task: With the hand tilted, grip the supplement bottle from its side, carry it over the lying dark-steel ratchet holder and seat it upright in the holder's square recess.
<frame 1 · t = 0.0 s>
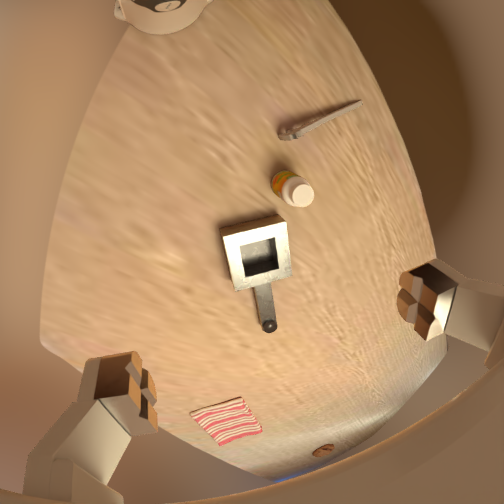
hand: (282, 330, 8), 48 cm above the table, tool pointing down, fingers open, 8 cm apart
dish towel: (228, 419, 85), on the table
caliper: (321, 117, 53), on the table
ratchet holder: (254, 248, 61), on the table
supplement bottle: (283, 183, 57), on the table
cookie: (322, 448, 114), on the table
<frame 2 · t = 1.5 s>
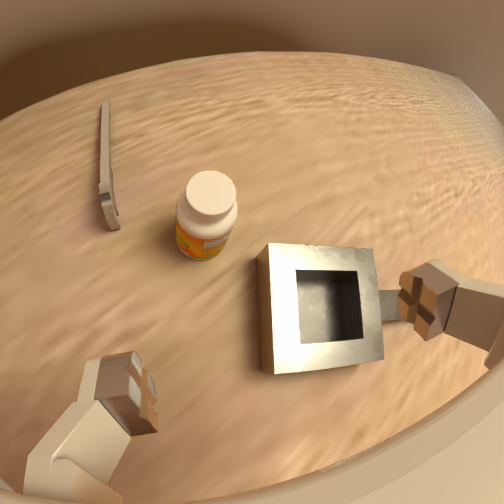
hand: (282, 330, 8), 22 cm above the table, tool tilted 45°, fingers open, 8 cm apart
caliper: (108, 158, 32), on the table
ratchet holder: (311, 311, 32), on the table
supplement bottle: (200, 237, 32), on the table
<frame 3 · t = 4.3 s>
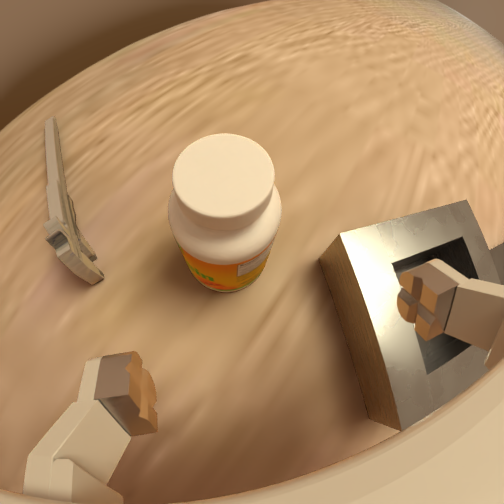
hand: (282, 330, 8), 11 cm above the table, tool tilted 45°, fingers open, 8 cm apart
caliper: (67, 184, 22), on the table
ratchet holder: (413, 311, 19), on the table
supplement bottle: (226, 255, 20), on the table
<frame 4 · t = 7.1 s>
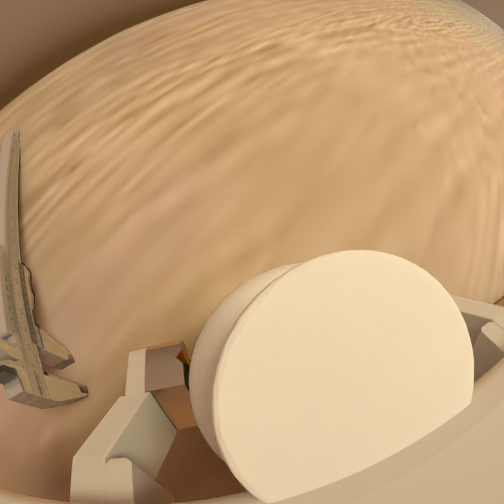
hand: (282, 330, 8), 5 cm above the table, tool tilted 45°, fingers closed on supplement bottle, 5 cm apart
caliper: (29, 233, 14), on the table
supplement bottle: (272, 367, 12), on the table, touching gripper
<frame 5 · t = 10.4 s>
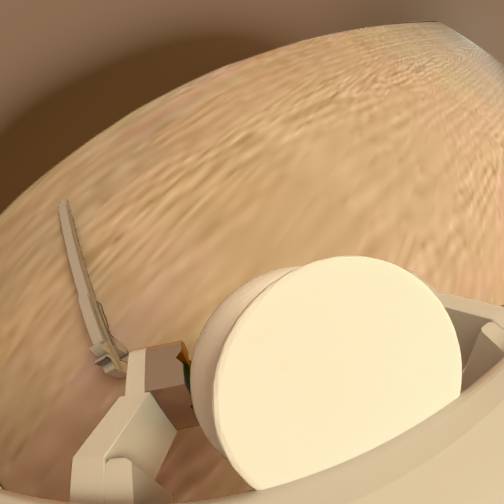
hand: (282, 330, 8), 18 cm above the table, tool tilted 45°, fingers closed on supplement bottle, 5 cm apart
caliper: (91, 279, 26), on the table
supplement bottle: (271, 366, 13), point 12 cm above the table, touching gripper
when the fingers open (9 cm above the table, at t = 13.8 s): supplement bottle drops 3 cm, resting on ratchet holder.
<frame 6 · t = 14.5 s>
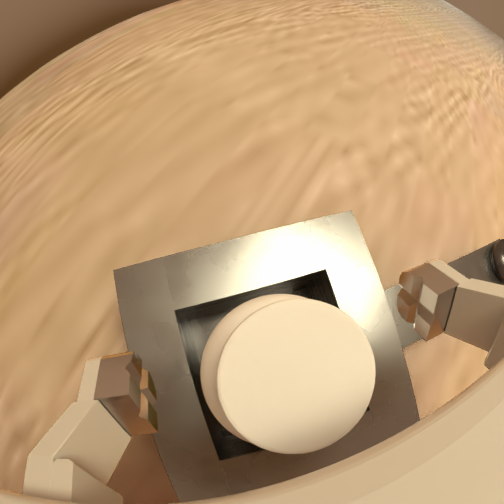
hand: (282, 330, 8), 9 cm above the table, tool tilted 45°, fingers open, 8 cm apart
ratchet holder: (265, 363, 16), on the table
supplement bottle: (262, 364, 16), resting on ratchet holder
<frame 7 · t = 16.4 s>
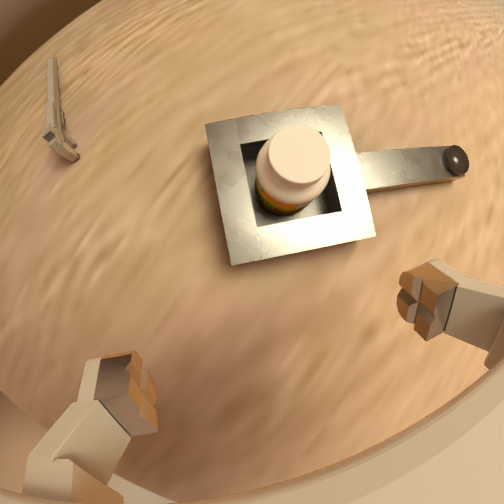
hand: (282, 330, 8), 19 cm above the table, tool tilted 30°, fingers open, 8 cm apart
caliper: (63, 102, 28), on the table
ratchet holder: (285, 188, 28), on the table
supplement bottle: (283, 188, 27), resting on ratchet holder
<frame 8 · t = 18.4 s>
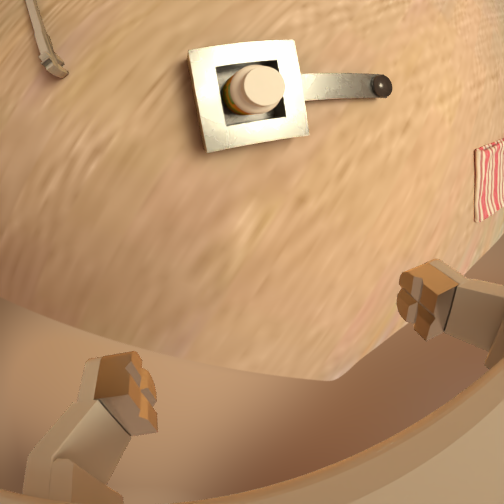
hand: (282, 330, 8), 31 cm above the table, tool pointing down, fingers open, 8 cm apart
dish towel: (495, 173, 50), on the table
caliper: (43, 25, 22), on the table
ratchet holder: (243, 94, 33), on the table
supplement bottle: (242, 94, 33), resting on ratchet holder
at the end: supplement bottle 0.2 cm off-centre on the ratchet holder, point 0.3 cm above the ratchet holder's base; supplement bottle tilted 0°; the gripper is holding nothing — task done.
